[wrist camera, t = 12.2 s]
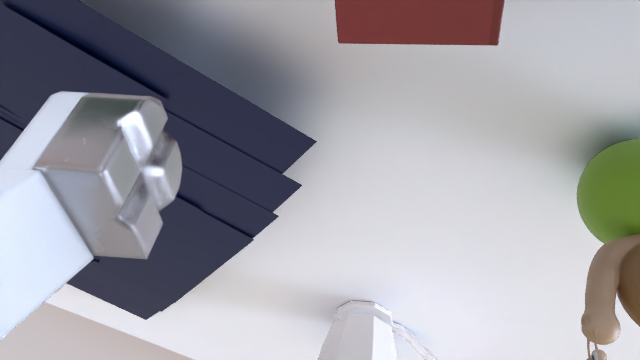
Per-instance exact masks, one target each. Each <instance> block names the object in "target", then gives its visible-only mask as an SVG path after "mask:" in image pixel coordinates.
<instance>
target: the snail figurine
mask: <svg viewBox="0 0 640 360" xmlns="http://www.w3.org/2000/svg"><path fill="white" fill-rule="evenodd" d="M577 204H578V209H579V212H580V215H581V218H582V220H583V222H584V223H585V225H586V226H587V228H588V229H589V230H590V232H591V233H592V234H593V235H594V236H595V237H596V238H597V239H599V240H600V241H601V242H603V243H604V245H603V246H602V247H601V248H600V249H599V250H598V251H597V253H596V254H595V256H594V258H593V260H592V262H591V265H590V268H589V272H588V277H587V285H586V293H585V312H584V314H583V316H582V318H581V324H582V332H583V334H584V335H585V336H586V338H587V349H588V356H589V358H588V359H587V360H607V356H606V354H605V352H603V351H602V350H598V348H597V344H600V345H606V344H610V343H612V342H614V341H615V340H616V339H617V338H618V336H619V334H620V323H619V321H618V319H617V317H616V315H615V299H616V292H617V295H618V298H619V300H620V302H621V304H622V306H623V308H624V309H625V311H626V312H627V313H628V315H629V316H630V317H631V318H632V320H633V321H634V322H636V323H637V324H638V325H639V326H640V139H633V140H627V141H623V142H619V143H616V144H614V145H612V146H609V147H608V148H606V149H604V150H603V151H601V152H600V153H598V154H597V155H596V156H595V157H594V158H593V159H592V160H591V161H590V162H589V163H588V165H587V166H586V168H585V169H584V171H583V173H582V175H581V177H580V180H579V183H578V188H577ZM590 341H592V342H594V344H595V349H596V350H594V351H593V352H592V355H591V356H590V350H589V344H590ZM591 357H592V358H591Z"/></svg>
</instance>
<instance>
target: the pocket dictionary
mask: <svg viewBox="0 0 640 360" xmlns="http://www.w3.org/2000/svg"><path fill="white" fill-rule="evenodd" d="M504 1H505V0H335V9H336V22H337V34H338V43H354V44H429V45H498V43H499V36H500V29H501V22H502V15H503V8H504Z"/></svg>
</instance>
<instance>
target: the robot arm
mask: <svg viewBox="0 0 640 360" xmlns="http://www.w3.org/2000/svg"><path fill="white" fill-rule="evenodd" d="M167 120H168V117H167V114H166V112H165V110H164V107H163V105H162V102H161V101H160V100H158V99H156V98H154V97H152V96H137V95H122V94H106V93H82V92H66V91H60V92H58V93H55V94H53V95H51V96H50V97H49V98H48V99H47V101H46V102H45V103H44V105H43V106H42V107H41V109H40V110H39V111H38V112H37V114H36V115H35V116H34V118H33V119H32V120H31V122H30V123H29V124H28V125H27V127H26V128H25V129H24V131H23V132H22V133H21V135H20V136H19V137H18V138H17V140H16V141H15V142H14V144H13V145H12V146H11V148H10V149H9V150H8V151H7V153H6V154H5V155H4V157H3V158H2V159H1V161H0V340H1V339H2V338H3V337H5V336H6V335H7V334H8V333H9V332H10V331H12V330H13V329H14V328H15V327H16V326H17V325H19V324H20V323H21V322H22V321H23V320H24V319H25V318H27V317H28V316H29V315H30V314H31V313H32V312H33V311H35V310H36V309H37V308H38V307H39V306H40V305H41V304H42V303H44V302H45V301H46V300H47V299H48V298H49V297H51V296H52V295H53V294H54V293H55V292H56V291H57V290H59V289H60V288H61V287H62V286H63V285H64V284H65V283H67V282H68V281H69V280H70V279H71V278H72V277H73V276H75V275H76V274H77V273H78V272H79V271H80V270H81V269H83V268H84V267H85V266H86V265H87V264H88V263H89V262H91V261H92V260H93V259H94V257H93V256H108V257H123V258H137V259H147V258H148V255H149V253H150V251H151V249H152V247H153V245H154V242H155V240H156V238H157V236H158V234H159V232H160V229H161V227H162V225H163V222H162V219H161V216H160V214H159V211H160V210H161V209H163V208H164V207H166V206H167V205H168V204H170V203H171V202H172V201H174V198H175V196H176V194H177V191H178V189H179V187H180V181H181V174H182V160H181V153H180V150H179V147H178V144H177V141H176V140H175V139H174V138H172V137H171V136H170V135H169V134H168V133H167V132H165V131H164V130H163V127H164V125H165V123H166V122H167Z"/></svg>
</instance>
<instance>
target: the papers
mask: <svg viewBox="0 0 640 360" xmlns="http://www.w3.org/2000/svg"><path fill="white" fill-rule="evenodd" d="M60 91H66V92H82V93H106V94H122V95H137V96H152V97H154V98H156V99H158V100H160V101H161V102H162V105H163V107H164V110H165V112H166V114H167V117H168V120H167V122H166V123H165V125H164V127H163V130H164V131H165V132H167V133H168V134H169V135H170V136H171V137H172V138H174V139H175V140H176V141H177V144H178V147H179V150H180V153H181V160H182V174H181V181H180V187H179V189H178V191H177V194H176V196H175V198H174V201H172V202H171V203H170V204H168V205H167V206H166V207H164V208H163V209H161V210H160V211H159V214H160V216H161V219H162V222H163V225H162V227H161V229H160V232H159V234H158V236H157V238H156V240H155V242H154V245H153V247H152V249H151V251H150V253H149V255H148V258H147V259H137V258H123V257H108V256H93V257H94V259H93V260H92V261H91V262H89V263H88V264H87V265H86V266H85V267H84V268H83V269H81V270H80V271H79V272H78V273H77V274H76V275H75V276H73V277H72V278H71V279H70V280H69V281H68V282H67V284H69V285H72V286H74V287H76V288H78V289H80V290H82V291H85V292H87V293H89V294H91V295H93V296H95V297H98V298H100V299H102V300H104V301H106V302H108V303H111V304H113V305H115V306H117V307H119V308H121V309H124V310H126V311H128V312H130V313H132V314H134V315H137V316H139V317H141V318H143V319H145V320H147V319H148V318H150V317H151V316H153V315H154V314H156V313H157V312H159V311H161V312H162V311H163V310H164V309H166V308H167V307H169V306H170V305H171V304H173V303H175V302H176V301H178V300H179V299H180V298H181V297H183V296H184V295H185V294H186V293H188V292H189V291H190V290H191V289H193V288H194V287H195V286H196V285H198V284H199V283H200V282H201V281H203V280H204V279H205V278H207V277H208V276H209V275H210V274H212V273H213V272H214V271H215V270H217V269H218V268H219V267H220V266H222V265H223V264H224V263H225V262H227V261H228V260H229V259H230V258H232V257H233V256H234V255H236V254H237V253H238V252H239V251H241V250H242V249H243V248H244V247H246V246H247V245H248V244H249V243H251V242H252V241H253V238H254V237H255V236H256V235H257V234H258V233H260V232H261V231H262V230H263V229H264V228H265V227H267V226H268V225H269V224H270V223H271V222H272V221H274V220H275V219H276V218H277V217H278V215H276V214H274V213H272V212H273V211H274V210H276V209H277V208H278V207H279V206H280V205H281V204H282V203H283V202H284V201H286V200H287V199H288V198H289V197H290V196H291V195H292V194H293V193H294V192H295V191H297V190H298V189H299V188H300V187H301V186H302V185H301V184H299V183H297V182H295V181H294V180H292V179H290V178H288V177H286V176H285V175H283V173H284V172H285V171H286V170H287V169H288V168H289V167H290V166H291V165H292V164H293V163H294V162H295V161H296V160H298V159H299V158H300V157H301V156H302V155H303V154H304V153H305V152H306V151H307V150H308V149H309V148H310V147H311V146H313V145H314V144H315V143H316V142H317V141H315V140H313V139H312V138H310V137H308V136H307V135H305V134H303V133H301V132H300V131H298V130H296V129H295V128H293V127H291V126H290V125H288V124H286V123H284V122H283V121H281V120H279V119H278V118H276V117H274V116H273V115H271V114H269V113H268V112H266V111H264V110H262V109H261V108H259V107H257V106H256V105H254V104H252V103H251V102H249V101H247V100H245V99H244V98H242V97H240V96H239V95H237V94H235V93H234V92H232V91H230V90H228V89H227V88H225V87H223V86H222V85H220V84H218V83H217V82H215V81H213V80H211V79H210V78H208V77H206V76H205V75H203V74H201V73H200V72H198V71H196V70H194V69H193V68H191V67H189V66H188V65H186V64H184V63H183V62H181V61H179V60H177V59H176V58H174V57H172V56H171V55H169V54H167V53H166V52H164V51H162V50H161V49H159V48H157V47H155V46H154V45H152V44H150V43H149V42H147V41H145V40H144V39H142V38H140V37H138V36H137V35H135V34H133V33H132V32H130V31H128V30H127V29H125V28H123V27H121V26H120V25H118V24H116V23H115V22H113V21H111V20H110V19H108V18H106V17H104V16H103V15H101V14H100V13H98V12H96V11H95V10H93V9H91V8H90V7H88V6H87V5H85V4H83V3H82V2H80V1H78V0H0V161H1V159H2V158H3V157H4V155H5V154H6V153H7V151H8V150H9V149H10V148H11V146H12V145H13V144H14V142H15V141H16V140H17V138H18V137H19V136H20V135H21V133H22V132H23V131H24V129H25V128H26V127H27V125H28V124H29V123H30V122H31V120H32V119H33V118H34V116H35V115H36V114H37V112H38V111H39V110H40V109H41V107H42V106H43V105H44V103H45V102H46V101H47V99H48V98H49V97H50V96H51V95H53V94H55V93H58V92H60Z"/></svg>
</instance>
